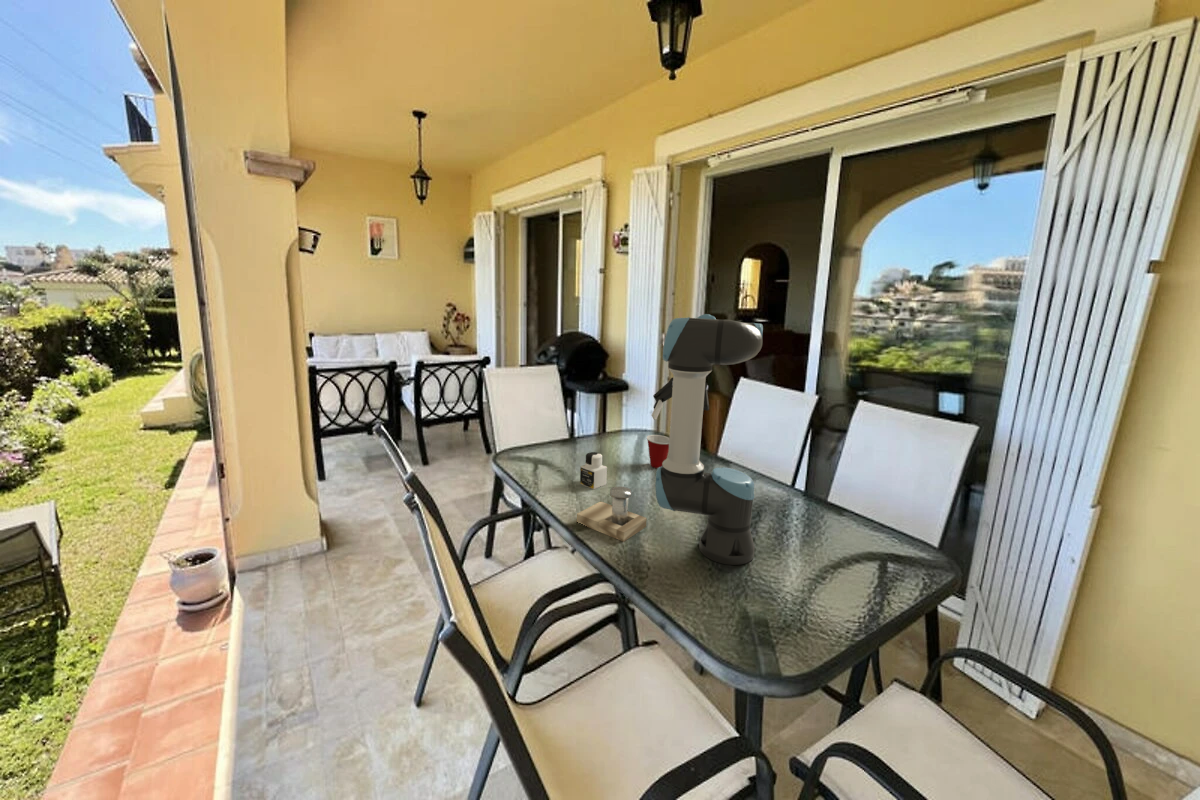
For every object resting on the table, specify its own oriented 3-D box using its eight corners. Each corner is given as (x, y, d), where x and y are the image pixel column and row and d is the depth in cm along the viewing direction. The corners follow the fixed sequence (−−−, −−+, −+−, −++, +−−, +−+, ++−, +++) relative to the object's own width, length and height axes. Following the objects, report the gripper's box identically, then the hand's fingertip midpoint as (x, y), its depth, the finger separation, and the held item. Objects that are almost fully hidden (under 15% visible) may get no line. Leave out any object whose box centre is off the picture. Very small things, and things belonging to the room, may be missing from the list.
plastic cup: (673, 471, 201) (674, 442, 198) (646, 470, 201) (647, 441, 198) (669, 461, 211) (671, 434, 208) (644, 460, 211) (645, 433, 208)
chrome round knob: (633, 527, 154) (635, 490, 151) (621, 535, 149) (623, 497, 146) (616, 520, 157) (618, 484, 155) (604, 528, 152) (605, 491, 150)
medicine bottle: (579, 484, 185) (580, 453, 182) (592, 479, 190) (593, 449, 187) (593, 489, 180) (594, 458, 178) (606, 484, 185) (607, 453, 183)
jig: (646, 526, 154) (646, 517, 153) (623, 541, 145) (624, 532, 144) (600, 509, 165) (600, 501, 164) (576, 522, 156) (576, 513, 155)
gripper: (731, 382, 168) (709, 435, 160) (667, 372, 183) (643, 420, 175) (726, 368, 163) (703, 422, 155) (660, 360, 177) (635, 408, 169)
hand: (671, 421), depth 165 cm, fingers open, 13 cm apart
